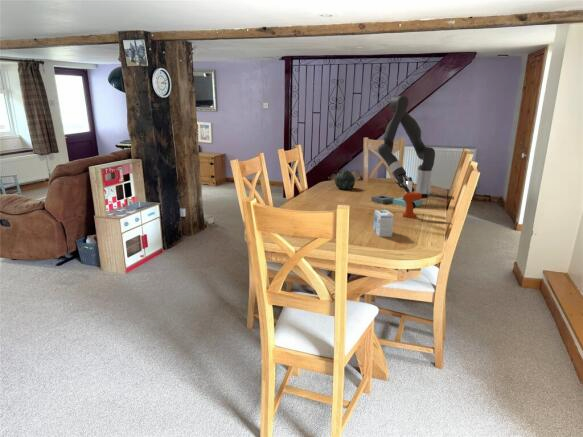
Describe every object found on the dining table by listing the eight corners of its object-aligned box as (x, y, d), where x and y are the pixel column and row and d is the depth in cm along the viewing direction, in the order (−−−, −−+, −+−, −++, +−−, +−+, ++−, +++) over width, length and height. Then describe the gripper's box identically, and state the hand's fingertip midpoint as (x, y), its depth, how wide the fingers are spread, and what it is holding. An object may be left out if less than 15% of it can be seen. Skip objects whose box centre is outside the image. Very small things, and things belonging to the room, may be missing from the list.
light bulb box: (372, 230, 207) (374, 209, 204) (385, 230, 207) (387, 209, 204) (379, 237, 197) (380, 215, 194) (392, 236, 197) (394, 215, 194)
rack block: (405, 201, 270) (406, 196, 270) (422, 204, 260) (422, 200, 260) (392, 203, 263) (393, 199, 262) (409, 207, 253) (409, 203, 252)
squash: (342, 178, 319) (337, 165, 308) (360, 181, 310) (355, 168, 299) (335, 192, 313) (329, 180, 302) (352, 196, 305) (347, 183, 294)
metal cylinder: (406, 201, 264) (408, 180, 260) (412, 203, 261) (414, 181, 257) (402, 202, 262) (404, 180, 258) (407, 203, 259) (409, 181, 255)
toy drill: (437, 217, 226) (437, 190, 222) (402, 219, 231) (401, 193, 228) (437, 215, 230) (436, 189, 227) (402, 216, 236) (401, 191, 232)
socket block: (381, 199, 275) (381, 194, 274) (393, 202, 267) (393, 197, 266) (371, 201, 269) (371, 196, 268) (382, 204, 261) (383, 199, 261)
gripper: (393, 167, 257) (407, 189, 251) (408, 165, 265) (422, 187, 259) (386, 174, 263) (399, 196, 257) (401, 172, 271) (414, 193, 265)
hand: (411, 191), depth 258 cm, fingers open, 4 cm apart
